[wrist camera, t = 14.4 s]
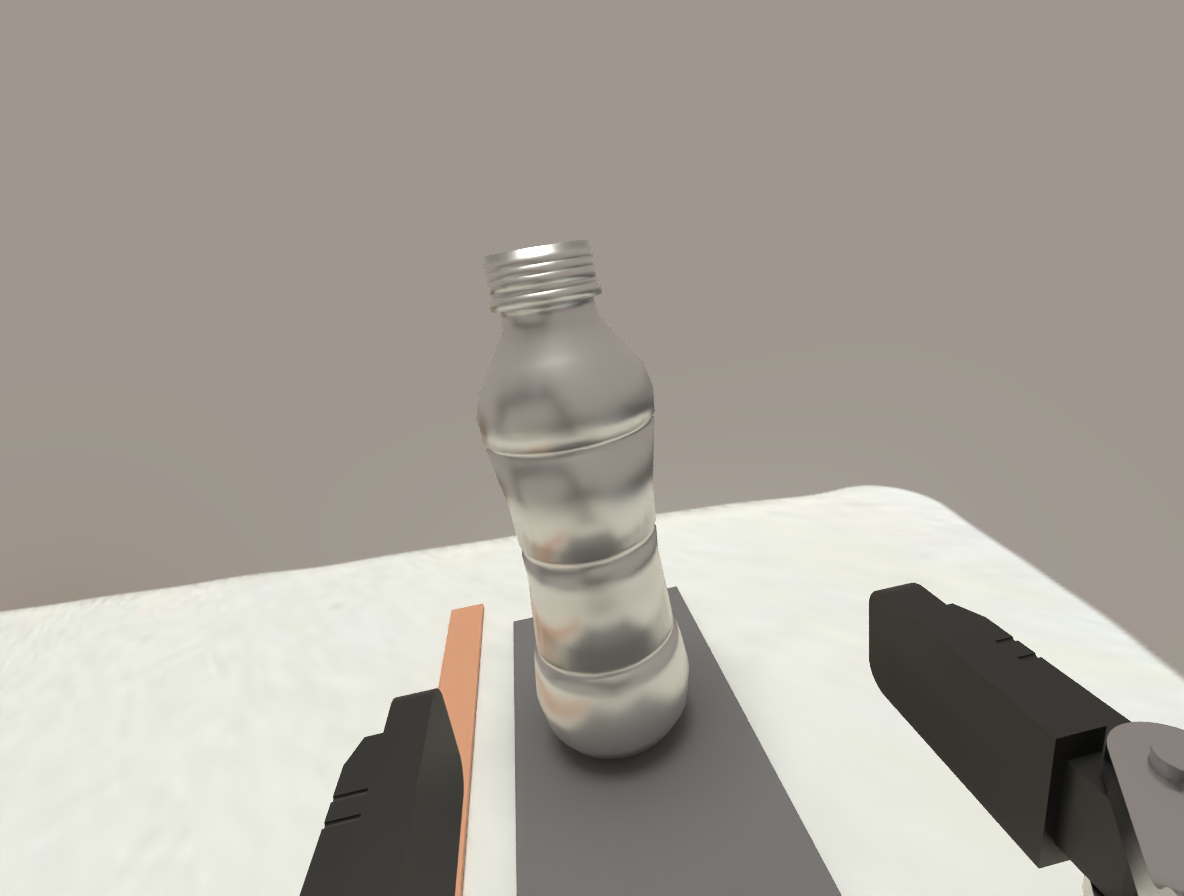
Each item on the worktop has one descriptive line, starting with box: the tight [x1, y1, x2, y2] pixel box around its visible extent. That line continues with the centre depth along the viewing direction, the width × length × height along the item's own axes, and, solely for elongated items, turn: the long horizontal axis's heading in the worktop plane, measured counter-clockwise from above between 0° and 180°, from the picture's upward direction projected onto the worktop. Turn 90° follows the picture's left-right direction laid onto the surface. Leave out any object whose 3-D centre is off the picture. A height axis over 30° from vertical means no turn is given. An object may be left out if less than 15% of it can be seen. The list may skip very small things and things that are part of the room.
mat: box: [514, 587, 841, 896], centre depth 25 cm, size 10×18×1 cm, turn 8°
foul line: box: [438, 604, 484, 896], centre depth 25 cm, size 2×24×1 cm, turn 8°
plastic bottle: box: [477, 240, 689, 759], centre depth 22 cm, size 6×7×20 cm
